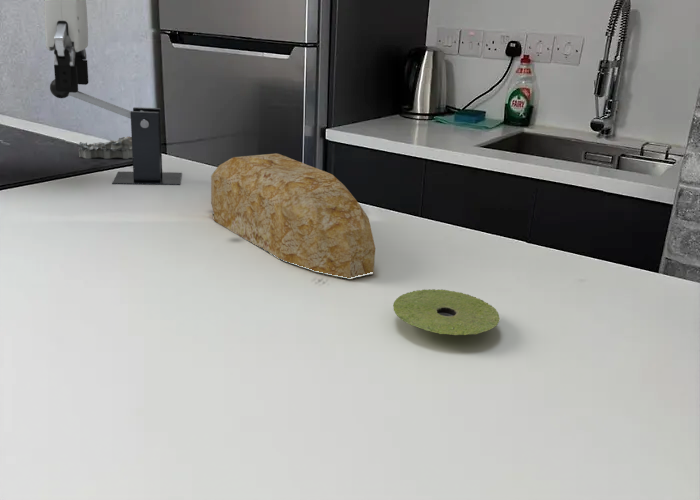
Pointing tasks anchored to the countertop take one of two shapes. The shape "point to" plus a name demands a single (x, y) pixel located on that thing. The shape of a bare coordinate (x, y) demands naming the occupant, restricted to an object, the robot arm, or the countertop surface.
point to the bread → (294, 213)
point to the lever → (90, 100)
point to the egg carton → (107, 149)
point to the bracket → (147, 151)
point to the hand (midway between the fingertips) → (73, 87)
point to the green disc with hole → (446, 312)
